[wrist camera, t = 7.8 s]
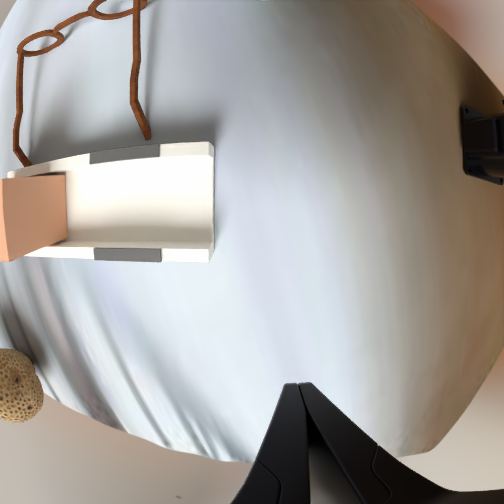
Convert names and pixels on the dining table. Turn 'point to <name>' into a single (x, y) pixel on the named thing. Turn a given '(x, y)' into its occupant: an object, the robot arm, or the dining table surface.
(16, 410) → the natural sponge
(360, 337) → the dining table surface
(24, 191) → the block
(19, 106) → the glasses
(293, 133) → the dining table surface
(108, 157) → the chute
